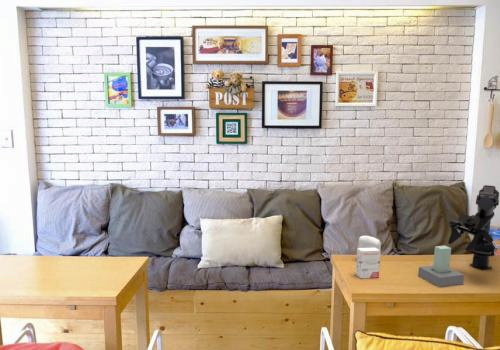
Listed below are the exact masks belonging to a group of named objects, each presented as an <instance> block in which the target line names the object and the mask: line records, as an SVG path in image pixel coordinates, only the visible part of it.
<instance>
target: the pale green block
mask: <svg viewBox="0 0 500 350" xmlns="http://www.w3.org/2000/svg"><path fill="white" fill-rule="evenodd" d="M433 253H434V254H433V264H432V265H433V271H435V272H437V273H439V274H441V273H449V268H450V266H451V257H452V256H451V255H452V247H449V246H447V245H438V246H434V252H433Z"/></svg>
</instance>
